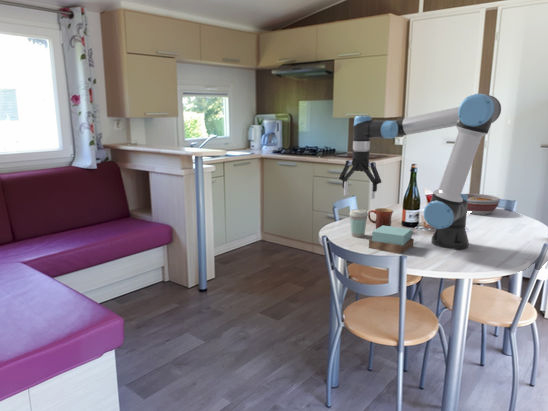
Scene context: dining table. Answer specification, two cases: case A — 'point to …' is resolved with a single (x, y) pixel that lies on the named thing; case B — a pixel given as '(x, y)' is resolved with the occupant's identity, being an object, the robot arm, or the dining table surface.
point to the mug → (381, 217)
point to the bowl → (482, 203)
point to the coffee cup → (358, 222)
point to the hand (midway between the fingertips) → (358, 196)
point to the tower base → (391, 246)
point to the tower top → (392, 235)
